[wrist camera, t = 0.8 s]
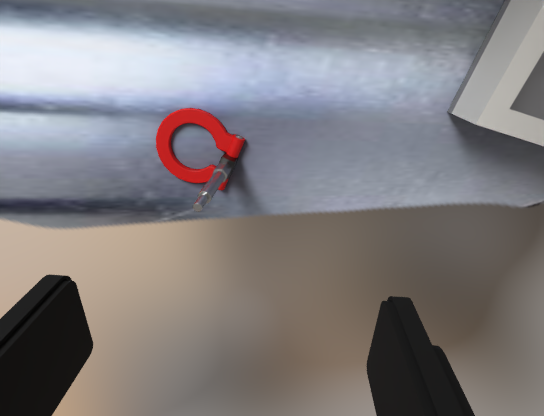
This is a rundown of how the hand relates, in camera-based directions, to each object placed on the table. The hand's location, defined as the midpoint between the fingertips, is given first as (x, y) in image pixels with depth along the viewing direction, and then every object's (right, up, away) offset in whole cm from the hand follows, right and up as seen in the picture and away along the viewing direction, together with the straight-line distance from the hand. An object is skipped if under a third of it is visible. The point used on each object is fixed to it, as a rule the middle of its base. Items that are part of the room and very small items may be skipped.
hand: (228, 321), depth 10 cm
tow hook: (-7, +11, +28) cm, 31 cm away
